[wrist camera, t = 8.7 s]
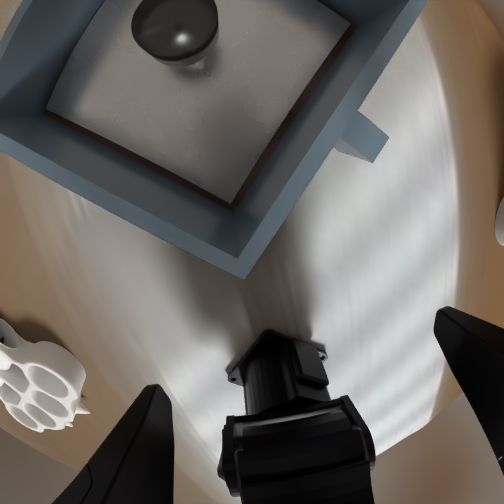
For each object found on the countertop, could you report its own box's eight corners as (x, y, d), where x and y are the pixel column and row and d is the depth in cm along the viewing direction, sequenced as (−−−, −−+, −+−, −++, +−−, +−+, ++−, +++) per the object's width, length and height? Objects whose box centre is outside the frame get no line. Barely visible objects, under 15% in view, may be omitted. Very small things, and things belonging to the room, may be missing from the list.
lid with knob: (230, 200, 17) (232, 238, 12) (50, 108, 13) (-7, 112, 8) (346, 26, 13) (393, -3, 8) (162, -60, 9) (144, -107, 4)
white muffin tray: (0, 288, 20) (118, 381, 25) (-21, 365, 24) (63, 428, 29) (-18, 308, 17) (110, 408, 22) (-31, 381, 21) (56, 446, 26)
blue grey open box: (269, 244, 18) (288, 301, 13) (31, 120, 13) (-32, 130, 8) (398, 49, 13) (461, 34, 8) (158, -74, 8) (139, -124, 3)
